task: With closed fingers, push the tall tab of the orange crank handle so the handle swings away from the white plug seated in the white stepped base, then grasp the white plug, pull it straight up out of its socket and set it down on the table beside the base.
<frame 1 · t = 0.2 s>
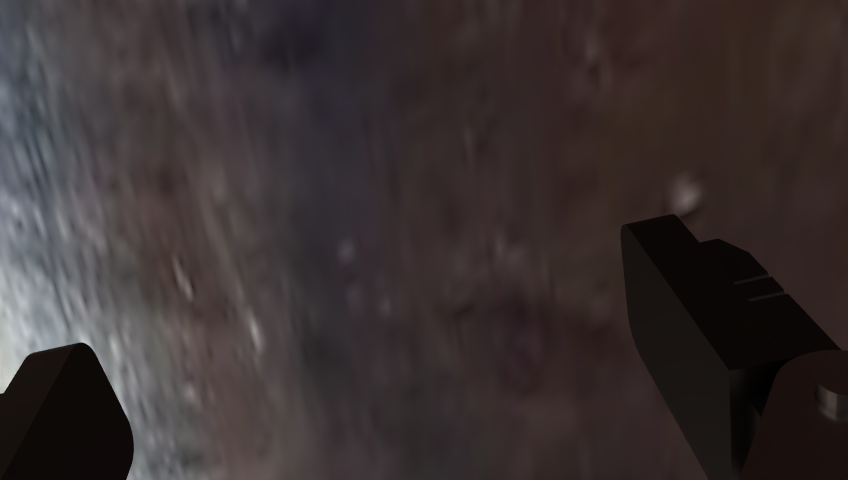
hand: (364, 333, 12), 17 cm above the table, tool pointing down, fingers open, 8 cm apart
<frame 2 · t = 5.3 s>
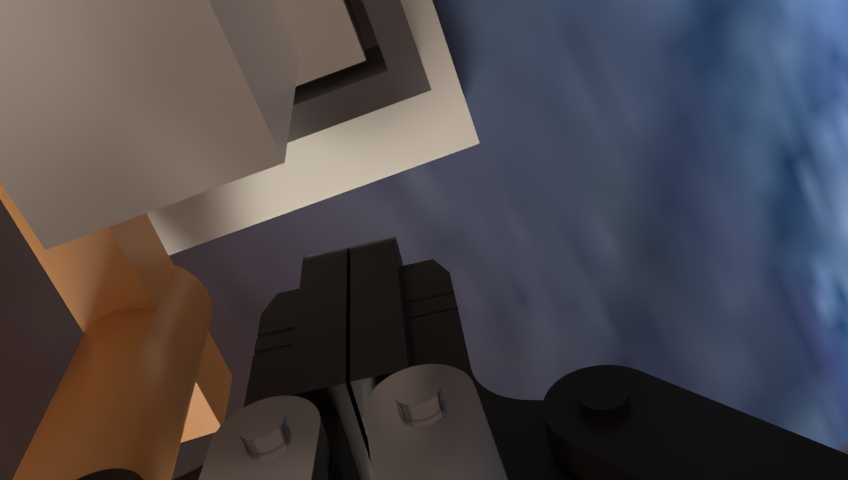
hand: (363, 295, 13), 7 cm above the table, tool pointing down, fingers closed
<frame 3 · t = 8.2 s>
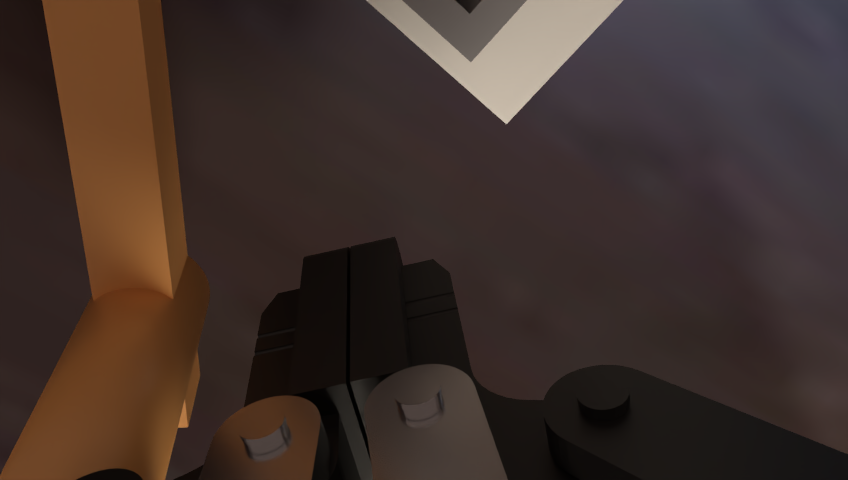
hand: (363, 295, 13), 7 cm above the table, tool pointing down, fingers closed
crank handle: (63, 101, 10), point 8 cm above the table, hinge at -50.3°, touching gripper
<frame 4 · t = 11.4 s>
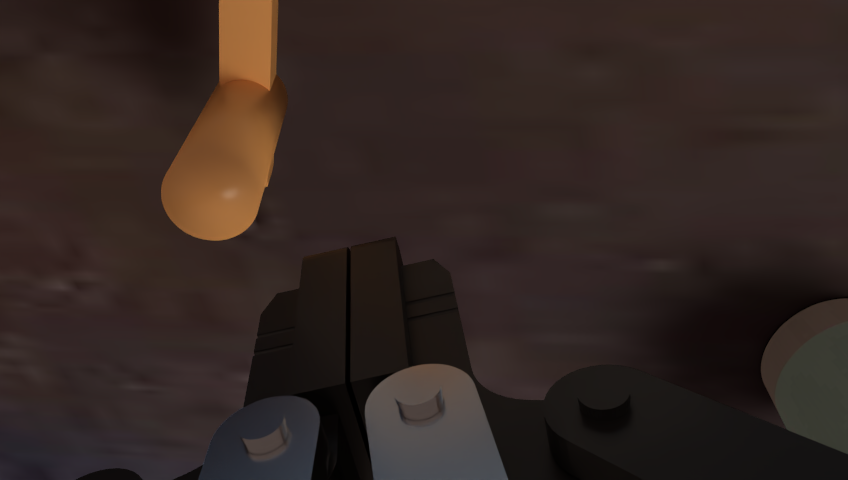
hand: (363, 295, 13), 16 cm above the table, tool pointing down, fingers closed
coffee cup: (823, 350, 34), on the table
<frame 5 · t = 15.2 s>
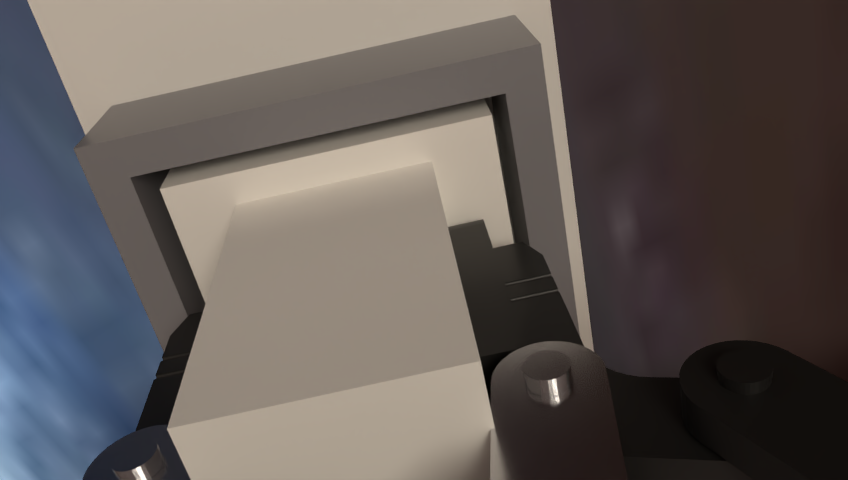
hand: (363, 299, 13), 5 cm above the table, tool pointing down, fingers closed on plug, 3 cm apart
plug: (363, 237, 14), point 3 cm above the table, touching gripper
white stepped base: (381, 265, 18), on the table
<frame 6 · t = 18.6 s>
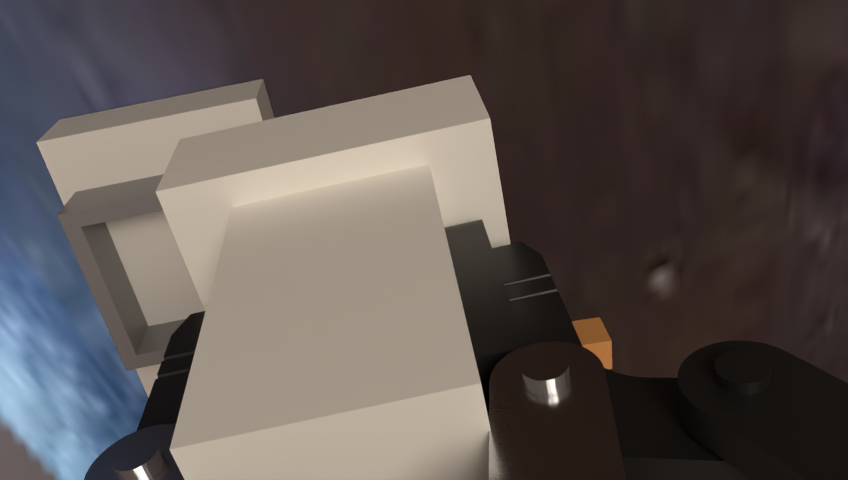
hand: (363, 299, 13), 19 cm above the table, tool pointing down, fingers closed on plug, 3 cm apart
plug: (359, 233, 14), point 17 cm above the table, touching gripper
crank handle: (438, 413, 28), point 8 cm above the table, hinge at -93.0°
white stepped base: (219, 265, 34), on the table
when the fingers open (4 cm above the table, at t = 22.1 s): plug drops 2 cm, on the table.
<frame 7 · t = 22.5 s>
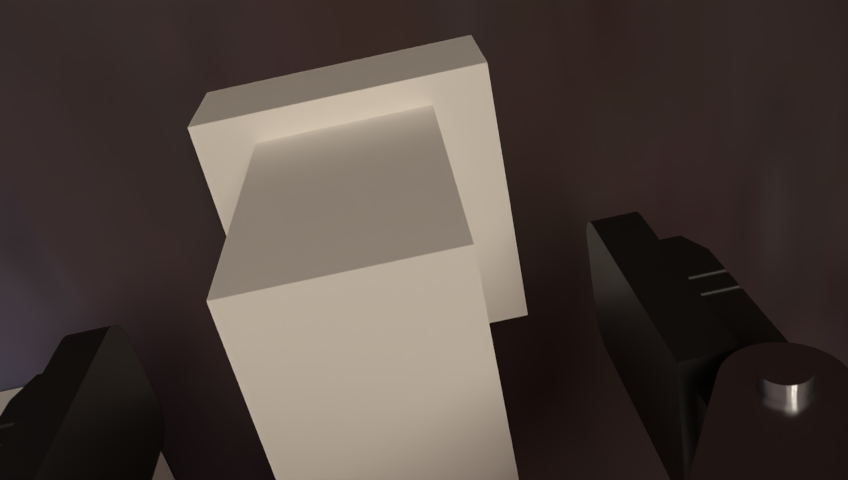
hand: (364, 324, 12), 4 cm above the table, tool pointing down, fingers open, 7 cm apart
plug: (369, 184, 16), on the table
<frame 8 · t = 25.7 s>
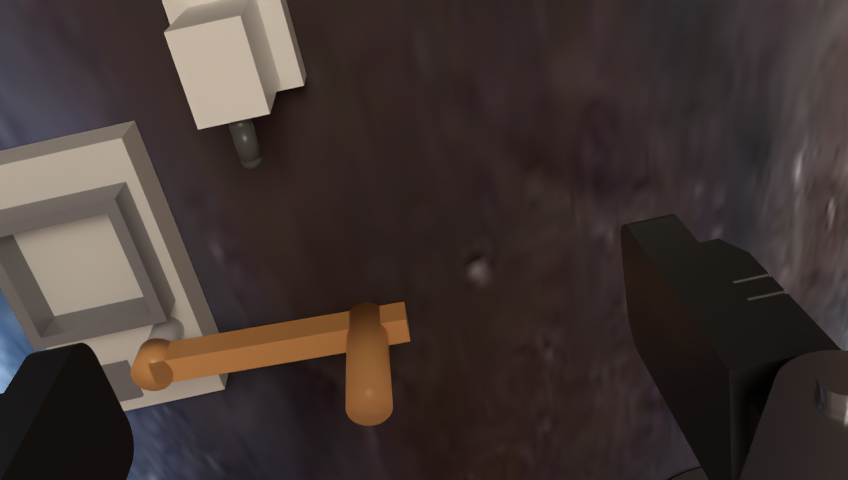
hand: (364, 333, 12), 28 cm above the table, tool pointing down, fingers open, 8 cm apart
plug: (240, 34, 37), on the table
crank handle: (266, 377, 36), point 8 cm above the table, hinge at -93.0°
white stepped base: (114, 267, 42), on the table
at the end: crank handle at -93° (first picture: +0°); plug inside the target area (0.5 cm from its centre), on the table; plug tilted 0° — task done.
